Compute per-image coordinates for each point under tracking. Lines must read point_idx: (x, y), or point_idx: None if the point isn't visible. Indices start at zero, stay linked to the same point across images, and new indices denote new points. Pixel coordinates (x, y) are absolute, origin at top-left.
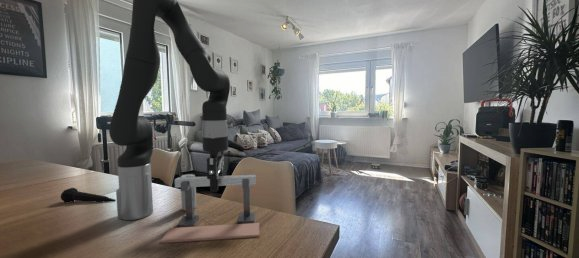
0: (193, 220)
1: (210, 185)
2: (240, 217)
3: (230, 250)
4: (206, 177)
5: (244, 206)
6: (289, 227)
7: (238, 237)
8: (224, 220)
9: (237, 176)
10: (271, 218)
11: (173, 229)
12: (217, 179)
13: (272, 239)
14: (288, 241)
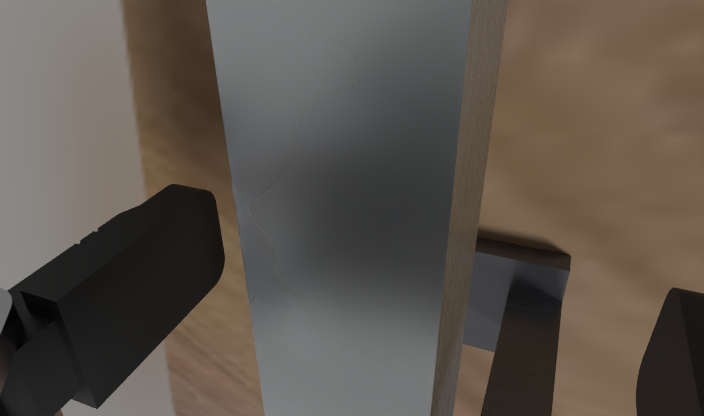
0: None
1: (115, 234)
2: (476, 263)
3: (154, 162)
4: (337, 214)
5: (496, 346)
6: None
7: None
8: (519, 136)
9: None
10: (465, 409)
11: None
12: (69, 394)
13: (245, 339)
14: (232, 381)
